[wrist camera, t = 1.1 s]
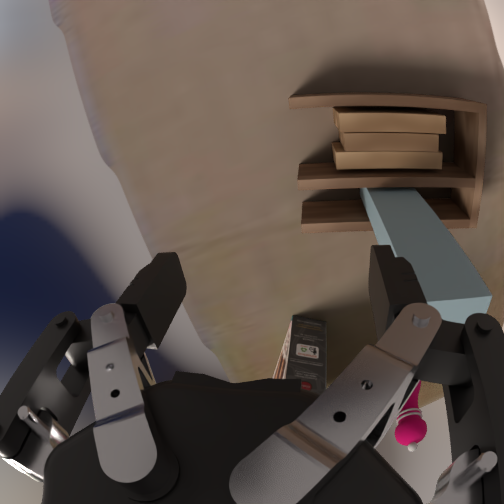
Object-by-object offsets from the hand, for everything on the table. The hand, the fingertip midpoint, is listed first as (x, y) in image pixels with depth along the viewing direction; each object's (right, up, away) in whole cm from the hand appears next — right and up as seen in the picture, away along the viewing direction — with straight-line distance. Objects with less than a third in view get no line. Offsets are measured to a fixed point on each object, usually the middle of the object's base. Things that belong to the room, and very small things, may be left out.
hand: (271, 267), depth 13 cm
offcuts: (+16, +16, +23) cm, 32 cm away
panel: (+17, +10, +27) cm, 33 cm away
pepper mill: (+30, -23, +44) cm, 57 cm away
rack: (+16, +14, +24) cm, 32 cm away
